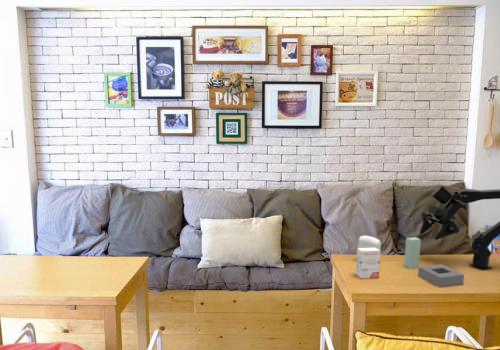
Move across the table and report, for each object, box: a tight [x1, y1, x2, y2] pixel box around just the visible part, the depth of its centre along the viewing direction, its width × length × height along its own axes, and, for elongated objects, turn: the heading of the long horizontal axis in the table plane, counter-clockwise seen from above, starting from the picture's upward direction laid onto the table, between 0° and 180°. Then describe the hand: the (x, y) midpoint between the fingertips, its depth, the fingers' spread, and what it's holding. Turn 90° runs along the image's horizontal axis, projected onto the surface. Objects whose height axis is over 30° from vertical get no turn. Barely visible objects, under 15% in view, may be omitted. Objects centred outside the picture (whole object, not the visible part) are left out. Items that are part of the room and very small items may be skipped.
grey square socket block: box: [417, 263, 465, 288], centre depth 169 cm, size 12×12×4 cm
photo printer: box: [357, 235, 382, 251], centre depth 187 cm, size 10×4×12 cm, turn 45°
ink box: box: [355, 247, 381, 279], centre depth 171 cm, size 9×5×12 cm, turn 98°
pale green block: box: [403, 236, 422, 269], centre depth 183 cm, size 5×4×13 cm
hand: (427, 236), depth 184 cm, fingers open, 9 cm apart
